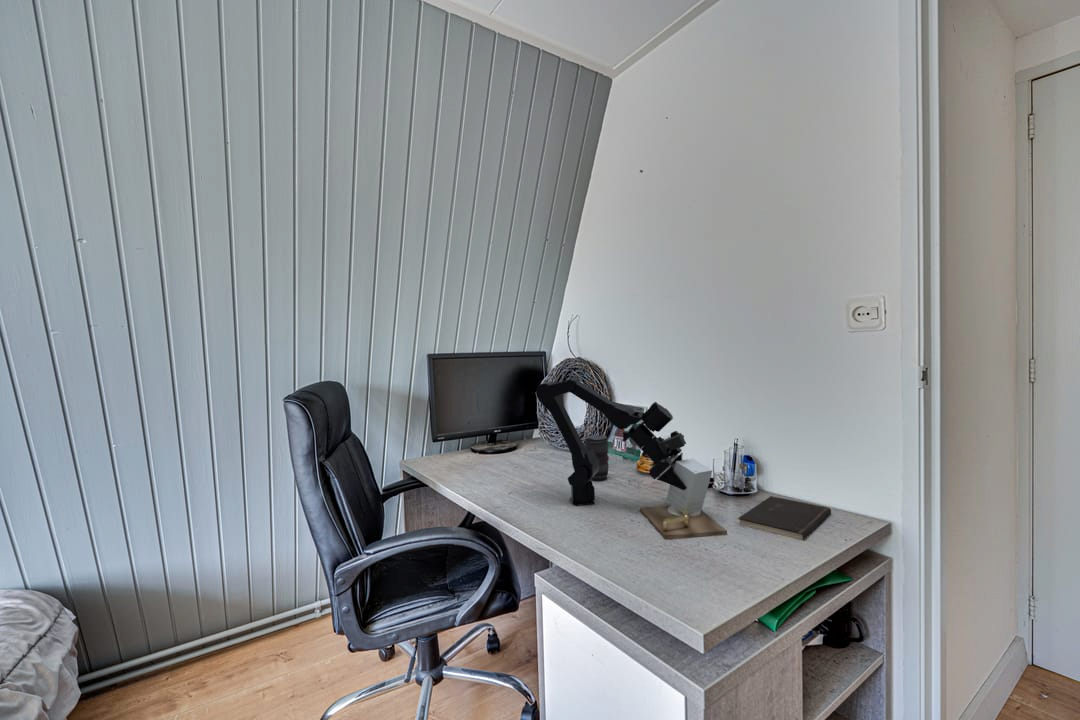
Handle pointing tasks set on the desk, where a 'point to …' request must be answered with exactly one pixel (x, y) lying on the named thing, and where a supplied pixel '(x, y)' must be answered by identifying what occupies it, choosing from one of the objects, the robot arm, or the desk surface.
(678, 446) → the robot arm
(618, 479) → the desk surface
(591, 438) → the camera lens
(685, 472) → the supplement box
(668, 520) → the bent brass wire
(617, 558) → the desk surface
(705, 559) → the desk surface
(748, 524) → the hardcover book
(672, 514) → the walnut board
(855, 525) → the desk surface
